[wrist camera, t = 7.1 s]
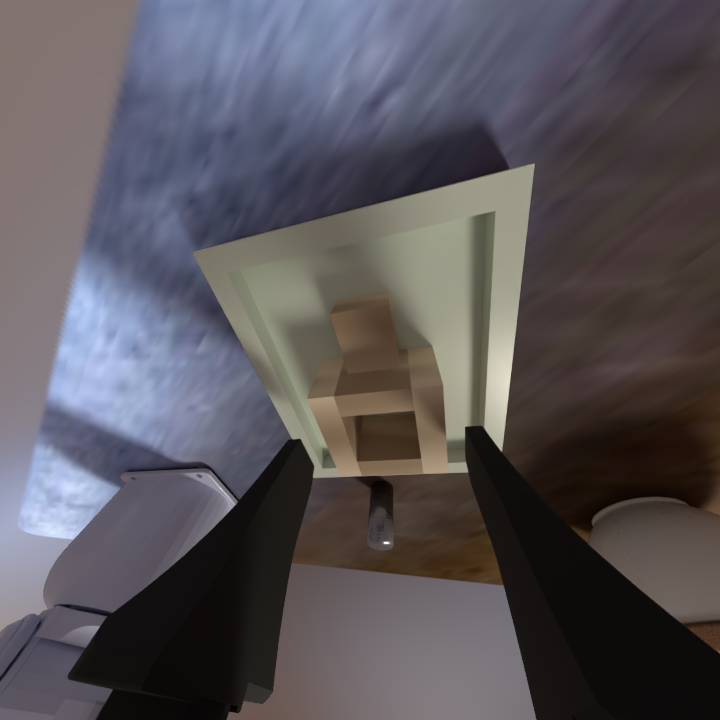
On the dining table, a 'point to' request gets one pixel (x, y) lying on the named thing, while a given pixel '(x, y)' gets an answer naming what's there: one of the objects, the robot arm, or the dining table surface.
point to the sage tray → (407, 291)
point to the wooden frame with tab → (379, 396)
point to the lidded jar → (666, 557)
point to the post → (381, 516)
